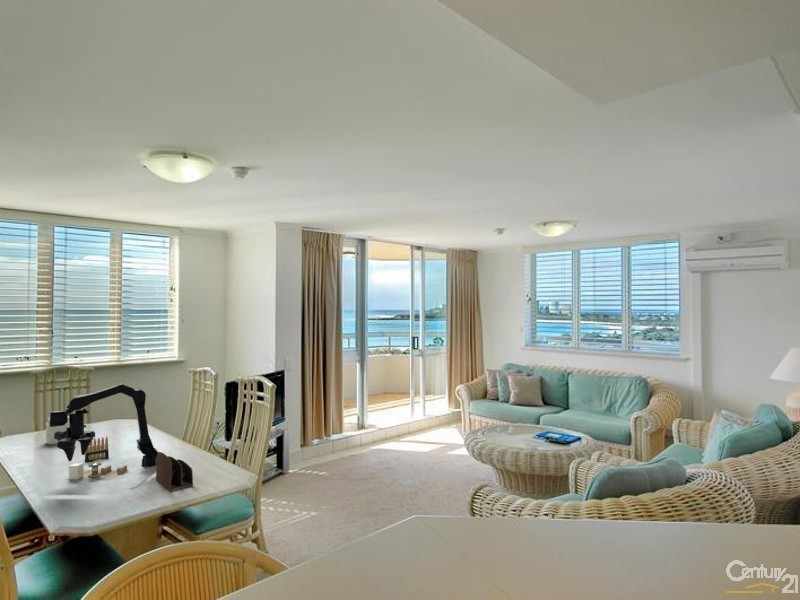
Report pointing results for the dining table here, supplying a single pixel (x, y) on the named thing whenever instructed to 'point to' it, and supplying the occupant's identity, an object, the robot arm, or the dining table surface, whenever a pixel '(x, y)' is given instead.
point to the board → (105, 476)
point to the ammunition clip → (97, 451)
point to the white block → (76, 471)
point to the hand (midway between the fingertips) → (76, 457)
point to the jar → (52, 430)
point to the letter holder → (173, 473)
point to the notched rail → (108, 468)
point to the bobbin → (94, 469)
